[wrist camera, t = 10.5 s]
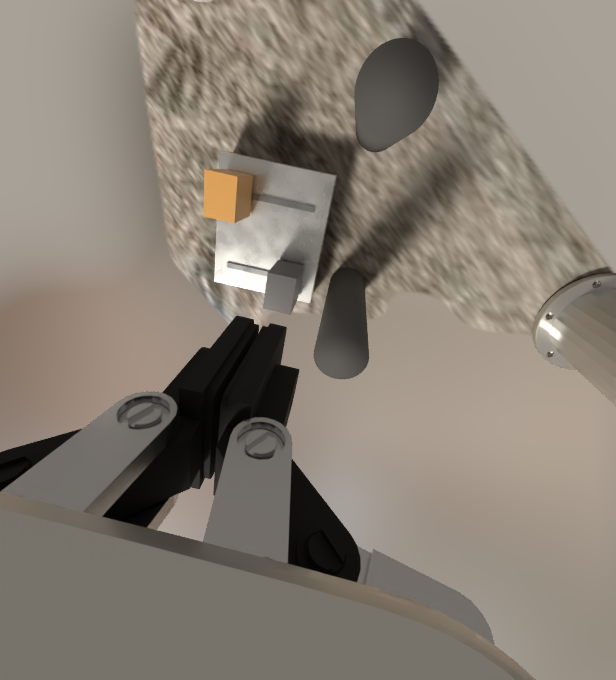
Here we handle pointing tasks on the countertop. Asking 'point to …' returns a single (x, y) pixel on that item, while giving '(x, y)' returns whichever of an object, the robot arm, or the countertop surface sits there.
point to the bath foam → (203, 0)
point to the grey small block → (283, 286)
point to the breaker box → (275, 223)
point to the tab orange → (227, 195)
